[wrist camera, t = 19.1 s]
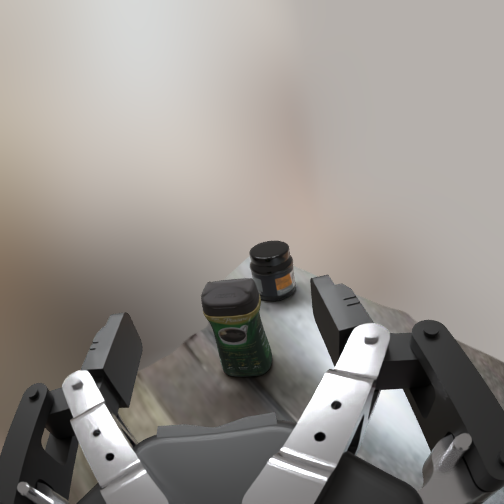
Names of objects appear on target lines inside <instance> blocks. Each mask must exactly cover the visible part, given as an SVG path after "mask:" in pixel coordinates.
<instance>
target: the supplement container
mask: <svg viewBox="0 0 504 504" xmlns="http://www.w3.org/2000/svg"><path fill="white" fill-rule="evenodd" d="M250 259H251V262H250V269H251V272H252V277H253V280H254V281H255V284H256V286H257V289H258V291H259V294H260V298H261V299H263V300H267V301H277V300H282V299H284V298H286V297H288V296H290V295H291V294H292V293H293V292H294V290H295V287H296V284H295V278H294V270H293V259H292V257H291V255H290V252H289V246H288V244H286V243H284V242H281V241H267V242H263V243H260V244H257V245H256V246H254V247H253V248H252V249H251V250H250Z"/></svg>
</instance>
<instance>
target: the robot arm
mask: <svg viewBox="0 0 504 504" xmlns="http://www.w3.org/2000/svg"><path fill="white" fill-rule="evenodd" d="M310 283H311V295H312V308H313V314H314V318H315V322H316V324H317V326H318V329H319V331H320V333H321V336H322V338H323V340H324V343H325V345H326V347H327V350H328V352H329V355H330V357H331V359H332V362H333V364H334V366H335V369H334V370H332V369H329V370H328V371H327V372H326V374H325V375H324V377H323V379H322V381H321V383H320V385H319V387H318V388H317V390H316V392H315V394H314V396H313V397H312V399H311V401H310V403H309V404H308V406H307V408H306V410H305V411H304V413H303V415H302V416H301V418H300V420H299V421H298V423H296V422H292V421H285V420H277V419H276V414H275V412H272V413H267V414H261V415H255V416H249V417H244V418H241V419H239V420H236V421H233V422H230V423H227V424H225V425H222V426H219V427H215V428H210V427H201V426H193V425H186V424H183V425H170V426H158V429H157V435H154V436H152V437H149V438H147V439H145V440H143V441H141V442H140V443H138V442H137V441H136V439H135V438H134V436H133V435H132V433H131V432H130V430H129V429H128V427H127V426H126V424H125V423H124V421H123V419H122V418H121V416H120V415H119V414H118V409H119V408H129V405H130V401H131V396H132V392H133V388H134V383H135V379H136V375H137V371H138V367H139V363H140V358H141V355H142V343H141V339H140V337H139V335H138V333H137V330H136V329H135V326H134V324H133V322H132V320H131V317H130V315H129V314H128V313H126V312H125V313H119V314H112V315H110V317H109V319H108V322H107V324H106V326H105V327H102V329H101V330H100V331H99V332H98V333H97V334H96V336H95V338H94V340H93V344H92V345H91V347H90V350H89V351H88V354H87V356H86V359H85V361H84V363H83V365H82V368H81V370H80V371H77V372H74V373H72V374H70V375H69V376H68V377H67V378H66V379H65V381H64V383H63V386H62V388H58V389H55V390H52V391H49V390H48V388H47V387H46V386H45V385H44V384H42V383H37V384H34V385H32V386H30V387H29V388H28V389H27V390H26V391H25V393H24V394H23V397H22V399H21V401H20V404H19V406H18V409H17V411H16V414H15V416H14V419H13V421H12V424H11V426H10V429H9V432H8V435H7V437H6V440H5V443H4V446H3V449H2V452H1V455H0V504H69V502H68V499H69V492H70V486H71V480H72V474H73V469H74V463H75V458H76V453H77V448H78V444H80V446H81V448H82V450H83V453H84V455H85V457H86V459H87V461H88V463H89V465H90V467H91V469H92V471H93V473H94V475H95V477H96V479H97V481H98V483H97V484H96V485H95V486H94V487H93V488H92V489H91V490H90V491H89V492H88V493H87V494H86V495H85V496H84V497H83V498H82V499H81V500H80V501H79V502H78V503H77V504H482V503H483V502H484V501H486V500H487V499H488V498H490V497H491V496H492V495H494V494H495V493H496V492H497V491H499V490H500V489H501V488H502V487H504V411H503V409H502V407H501V406H500V404H499V403H498V401H497V399H496V398H495V396H494V395H493V393H492V392H491V390H490V389H489V387H488V386H487V384H486V383H485V381H484V380H483V378H482V377H481V375H480V374H479V372H478V371H477V369H476V368H475V366H474V365H473V364H472V362H471V361H470V359H469V358H468V357H467V355H466V354H465V352H464V351H463V350H462V348H461V347H460V345H459V344H458V343H457V341H456V340H455V339H454V337H453V336H452V335H451V333H450V332H449V331H448V330H447V328H446V327H445V326H444V325H443V324H442V323H440V322H437V321H434V320H424V321H420V322H418V323H417V324H415V326H414V327H413V329H412V333H399V334H394V333H389V331H388V330H387V329H386V328H385V327H384V326H382V325H380V324H376V323H374V322H373V321H372V319H371V318H370V316H369V315H368V313H367V312H366V310H365V309H364V307H363V306H362V304H361V303H360V301H359V300H358V298H357V297H356V295H355V294H354V293H353V291H352V289H351V288H349V287H347V286H346V285H344V284H337V285H334V283H333V282H332V280H331V278H330V277H329V275H324V276H320V277H315V278H311V280H310ZM387 389H403V390H404V393H405V395H406V397H407V399H408V401H409V403H410V405H411V407H412V410H413V412H414V414H415V416H416V418H417V421H418V423H419V425H420V427H421V430H422V432H423V434H424V436H425V439H426V441H427V443H428V446H429V448H430V450H431V453H430V455H429V456H428V458H427V459H426V461H425V463H424V465H423V471H422V473H423V478H424V483H423V487H422V489H420V490H418V491H416V490H415V489H414V488H413V487H412V486H411V485H409V484H408V483H406V482H404V481H402V480H400V479H398V478H396V477H394V476H392V475H390V474H388V473H386V472H385V471H383V470H381V469H379V468H377V467H375V466H373V465H372V464H370V463H368V462H366V461H365V460H363V459H361V458H359V457H357V456H356V455H357V453H358V451H359V448H360V446H361V443H362V441H363V438H364V435H365V432H366V429H367V426H368V423H369V421H370V418H371V416H372V413H373V411H374V408H375V405H376V402H377V400H378V397H379V394H380V391H381V390H387ZM44 428H46V429H47V430H48V431H49V432H50V435H49V438H48V442H47V445H46V449H45V450H44V449H43V447H42V444H41V438H42V435H43V432H44Z"/></svg>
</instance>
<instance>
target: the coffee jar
mask: <svg viewBox="0 0 504 504" xmlns="http://www.w3.org/2000/svg"><path fill="white" fill-rule="evenodd" d="M201 299H202V307H203V313H204V315H205V317H206V318H207V320H208V321H209V322H210V324H211V326H212V329H213V332H214V335H215V339H216V343H217V347H218V352H219V357H220V361H221V365H222V368H223V371H224V372H225V373H226V374H228V375H230V376H237V377H250V376H259V375H262V374H264V373H266V372H267V371H268V370H269V368H270V366H271V362H272V353H271V349H270V345H269V342H268V340H267V337H266V334H265V331H264V328H263V325H262V322H261V319H260V314H259V310H260V304H261V299H260V294H259V291H258V289H257V286H256V284H255V281H254V280H253V279H252V278H250V279H247V278H245V279H232V280H221V281H215V282H208V283H207V284H206V286H205V288H204V290H203V292H202V296H201Z"/></svg>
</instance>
